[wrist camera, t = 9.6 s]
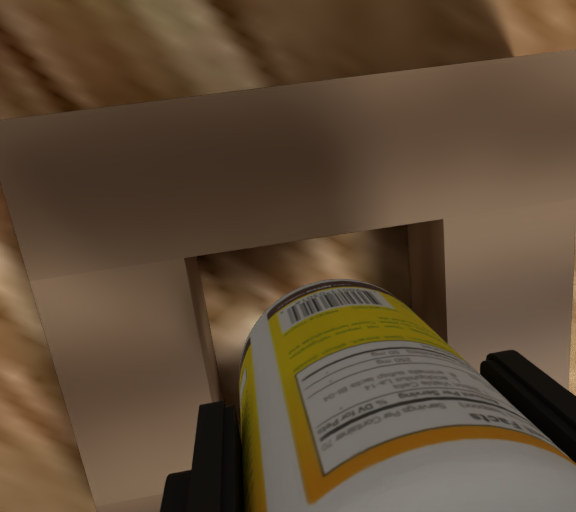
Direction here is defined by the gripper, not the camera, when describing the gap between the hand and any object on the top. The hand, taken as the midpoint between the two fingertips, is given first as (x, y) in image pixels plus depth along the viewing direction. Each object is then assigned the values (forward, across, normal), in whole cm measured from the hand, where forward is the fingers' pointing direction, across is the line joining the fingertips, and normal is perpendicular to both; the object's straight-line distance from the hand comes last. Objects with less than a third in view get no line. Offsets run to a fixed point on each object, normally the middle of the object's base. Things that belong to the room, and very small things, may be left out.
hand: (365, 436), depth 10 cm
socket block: (+7, 0, 0) cm, 7 cm away
